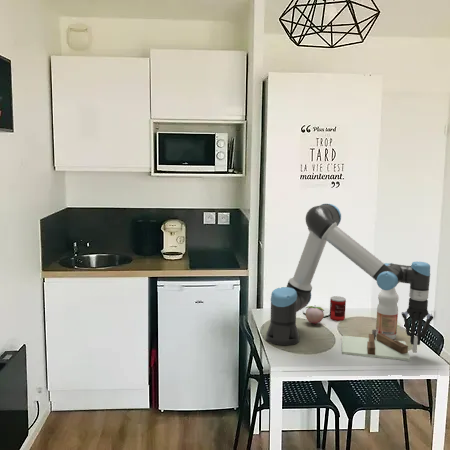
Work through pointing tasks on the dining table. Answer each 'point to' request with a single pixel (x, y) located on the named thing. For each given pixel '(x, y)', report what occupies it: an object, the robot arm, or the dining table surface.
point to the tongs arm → (392, 343)
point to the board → (360, 348)
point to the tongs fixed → (371, 343)
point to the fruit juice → (387, 313)
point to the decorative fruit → (314, 314)
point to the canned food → (337, 308)
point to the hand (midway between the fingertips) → (414, 351)
